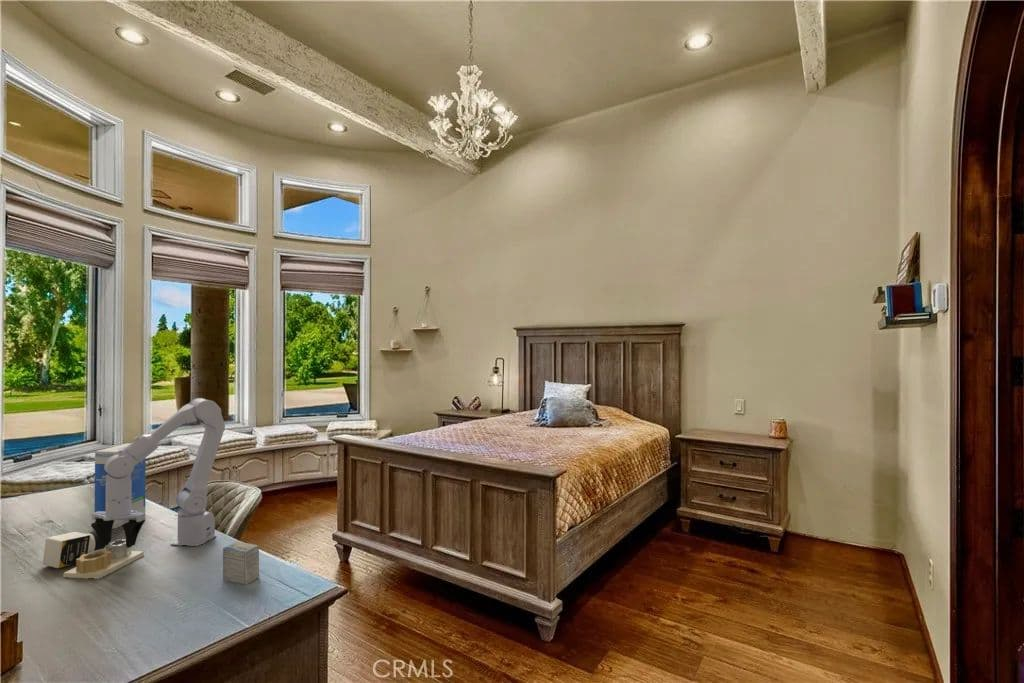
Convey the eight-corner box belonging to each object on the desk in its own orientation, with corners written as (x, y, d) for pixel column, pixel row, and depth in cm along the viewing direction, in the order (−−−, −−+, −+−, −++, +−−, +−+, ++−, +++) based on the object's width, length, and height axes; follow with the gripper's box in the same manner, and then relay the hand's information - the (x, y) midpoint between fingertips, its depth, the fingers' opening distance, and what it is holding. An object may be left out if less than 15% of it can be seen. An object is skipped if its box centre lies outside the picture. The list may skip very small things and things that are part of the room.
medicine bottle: (61, 541, 131) (110, 530, 142) (45, 537, 133) (95, 527, 145) (57, 568, 130) (107, 555, 141) (41, 564, 133) (92, 552, 144)
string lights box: (126, 514, 174) (126, 442, 174) (147, 515, 173) (147, 443, 173) (93, 528, 160) (93, 451, 160) (115, 529, 160) (115, 451, 160)
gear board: (143, 555, 140) (144, 536, 140) (98, 578, 126) (99, 557, 126) (111, 554, 141) (112, 535, 141) (63, 577, 127) (63, 556, 127)
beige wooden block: (259, 577, 127) (260, 544, 127) (245, 585, 123) (245, 551, 123) (237, 573, 130) (237, 540, 130) (222, 580, 125) (222, 547, 125)
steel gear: (136, 551, 140) (136, 538, 140) (120, 559, 135) (120, 546, 135) (117, 551, 140) (117, 538, 140) (101, 559, 135) (101, 546, 135)
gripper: (81, 501, 134) (81, 550, 134) (130, 503, 133) (130, 552, 133) (104, 493, 141) (104, 540, 141) (151, 495, 140) (151, 542, 140)
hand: (118, 545), depth 137 cm, fingers open, 7 cm apart
